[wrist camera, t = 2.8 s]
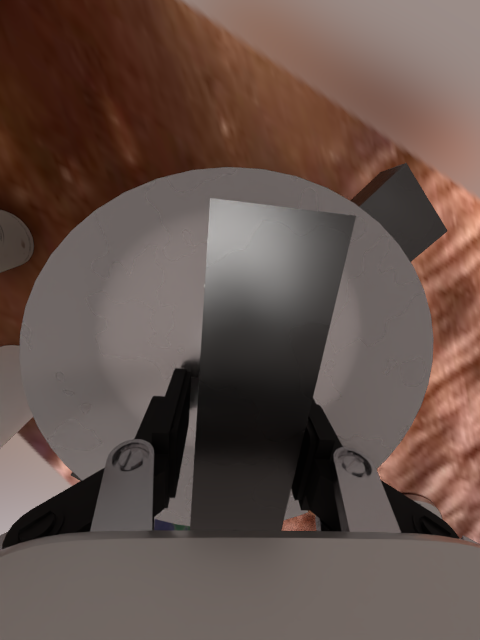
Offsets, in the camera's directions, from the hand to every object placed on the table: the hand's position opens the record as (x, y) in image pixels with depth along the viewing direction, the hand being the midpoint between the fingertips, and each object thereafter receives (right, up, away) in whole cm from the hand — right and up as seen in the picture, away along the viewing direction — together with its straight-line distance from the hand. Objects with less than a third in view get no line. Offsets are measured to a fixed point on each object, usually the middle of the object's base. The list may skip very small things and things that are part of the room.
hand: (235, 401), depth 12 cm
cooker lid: (0, +1, +2) cm, 2 cm away
